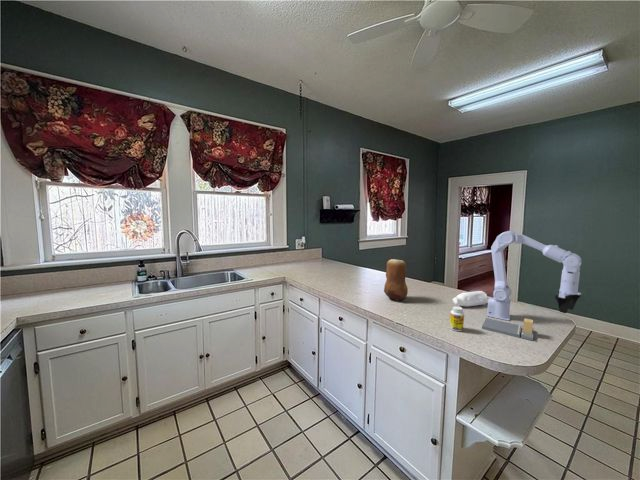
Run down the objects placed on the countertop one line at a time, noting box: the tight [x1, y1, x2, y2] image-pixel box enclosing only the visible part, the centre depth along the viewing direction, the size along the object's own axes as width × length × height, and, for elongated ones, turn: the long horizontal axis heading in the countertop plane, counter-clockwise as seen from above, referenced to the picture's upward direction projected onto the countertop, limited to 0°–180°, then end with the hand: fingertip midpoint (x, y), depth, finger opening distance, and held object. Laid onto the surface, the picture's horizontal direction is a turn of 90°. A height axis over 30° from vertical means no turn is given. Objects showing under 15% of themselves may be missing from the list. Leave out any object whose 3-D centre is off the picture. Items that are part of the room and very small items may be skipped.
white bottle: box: [452, 290, 488, 308], centre depth 151 cm, size 8×19×8 cm, turn 105°
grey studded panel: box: [481, 317, 522, 339], centre depth 122 cm, size 14×12×1 cm
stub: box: [520, 317, 535, 341], centre depth 116 cm, size 4×12×6 cm, turn 140°
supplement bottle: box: [449, 305, 465, 332], centre depth 121 cm, size 6×6×10 cm
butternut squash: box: [383, 258, 409, 301], centre depth 161 cm, size 14×13×25 cm
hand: (566, 310), depth 118 cm, fingers open, 7 cm apart
